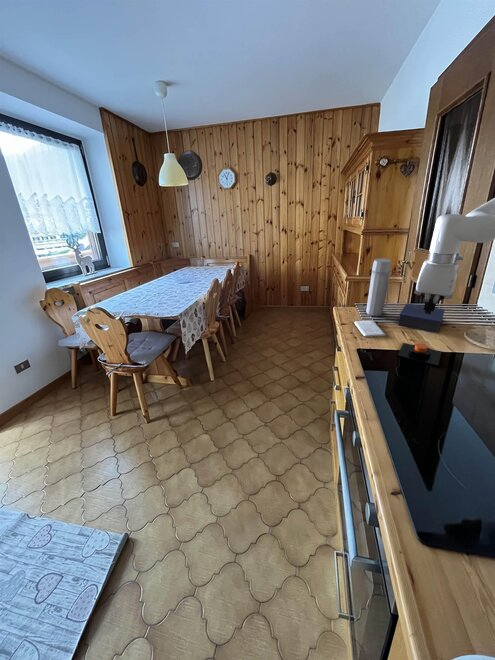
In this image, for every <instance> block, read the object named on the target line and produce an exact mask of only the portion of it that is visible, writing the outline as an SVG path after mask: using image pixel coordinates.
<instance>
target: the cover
mask: <svg viewBox="0 0 495 660" xmlns="http://www.w3.org/2000/svg"><path fill="white" fill-rule="evenodd" d="M425 311H426V310H424V305H420V304H413V303H406V304H405V305H404V307H403V308H402V310H401V311H400V312H399V315H398V316H399V317H400V316H403V317H409V318H414V319H420V320H425V321H431V322H436V323H441V324H442V322H441V321H443V318H444V315H443V314H445V312H446V309H445V308H440V307H439V308H438V307H435V310H434V312H433V311H432V312H431V314H428V313H427V314H425ZM442 317H443V318H442Z"/></svg>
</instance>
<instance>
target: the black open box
mask: <svg viewBox="0 0 495 660" xmlns="http://www.w3.org/2000/svg"><path fill="white" fill-rule="evenodd" d="M444 314H445V313H444ZM444 314H443V317H442V319H443V318H444ZM442 321H443V320H442ZM442 321H441V323H436V322H431V321H425V320H420V319H414V318H409V317H403V316H399V317H398V321H397V322H398V323H397V325H398V326H401V327H406V328H411V329H416V330H420V331H425V332H430V333H435V334H439V331H440V328H441V324H442Z"/></svg>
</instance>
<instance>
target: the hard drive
mask: <svg viewBox="0 0 495 660" xmlns="http://www.w3.org/2000/svg"><path fill="white" fill-rule="evenodd" d="M354 325H355V326H356V328H357V329H358V331H360V333H361V334H362V335H363V337H364V338H366V337H369V338H370V337H385V336H386V333H385V332H384V331H383V330H382V329H381V328H380V327H379V325H378V324H377V323H376V322H375V321H374V320H358V321H354Z"/></svg>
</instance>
